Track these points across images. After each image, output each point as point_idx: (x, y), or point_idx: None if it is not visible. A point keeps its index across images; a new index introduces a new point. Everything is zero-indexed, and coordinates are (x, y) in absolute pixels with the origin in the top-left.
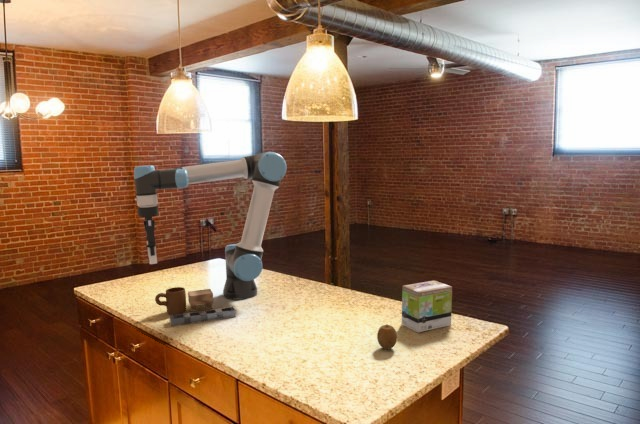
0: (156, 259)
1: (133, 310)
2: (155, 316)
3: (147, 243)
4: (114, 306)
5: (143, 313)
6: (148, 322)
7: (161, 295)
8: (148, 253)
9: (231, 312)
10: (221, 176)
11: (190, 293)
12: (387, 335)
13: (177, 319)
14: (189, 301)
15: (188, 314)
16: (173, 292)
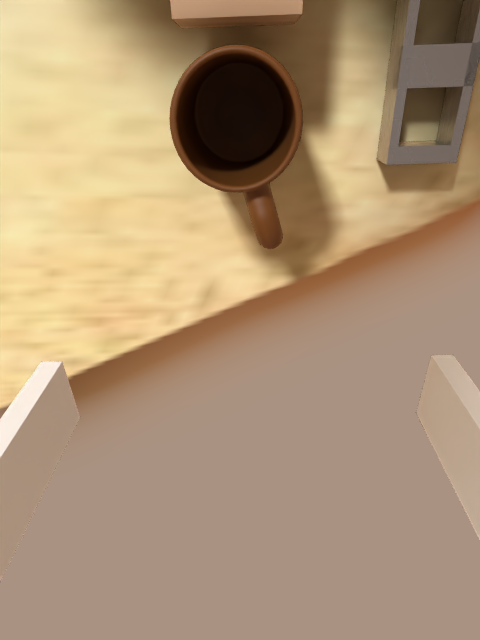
0: (472, 387)
1: (135, 308)
2: None
3: (5, 566)
4: None
5: (193, 271)
6: (326, 251)
7: (277, 218)
8: (62, 446)
9: None
10: None
11: (231, 1)
12: None
13: (462, 124)
14: (246, 23)
15: (432, 52)
16: (297, 142)
